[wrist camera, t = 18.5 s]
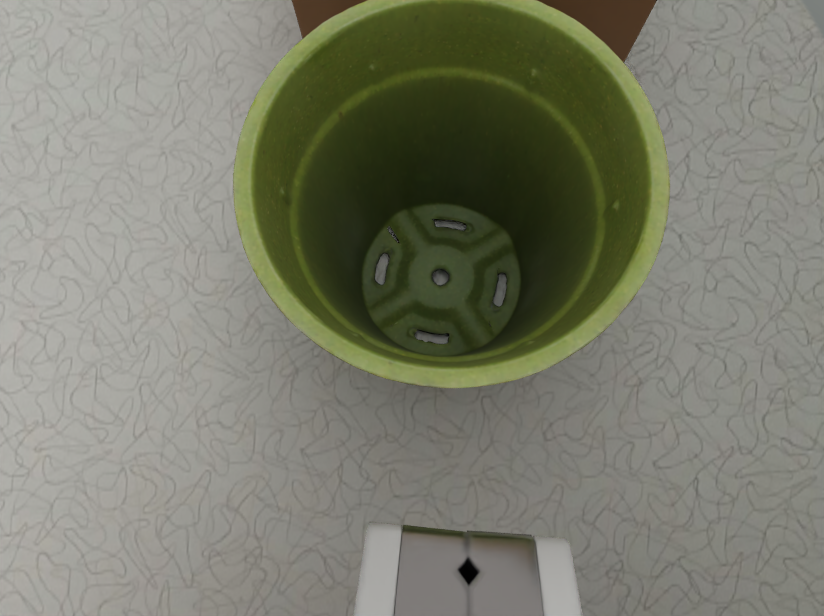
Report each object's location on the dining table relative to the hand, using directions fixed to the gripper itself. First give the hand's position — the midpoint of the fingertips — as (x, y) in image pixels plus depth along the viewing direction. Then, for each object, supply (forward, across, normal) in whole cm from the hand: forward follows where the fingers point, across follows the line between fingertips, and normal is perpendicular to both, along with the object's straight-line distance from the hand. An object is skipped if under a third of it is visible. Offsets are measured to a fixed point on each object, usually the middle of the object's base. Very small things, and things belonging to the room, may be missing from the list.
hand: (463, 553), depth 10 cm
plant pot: (+18, +1, +6) cm, 19 cm away
